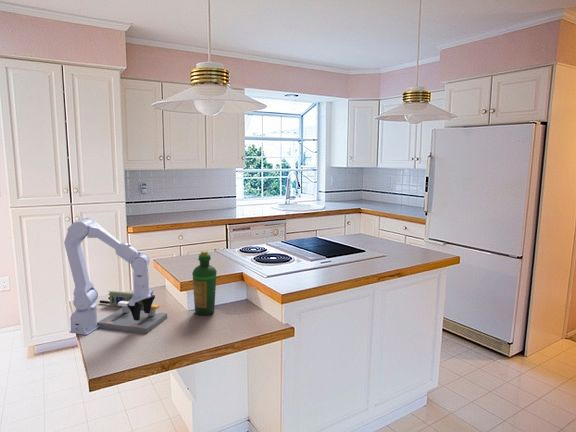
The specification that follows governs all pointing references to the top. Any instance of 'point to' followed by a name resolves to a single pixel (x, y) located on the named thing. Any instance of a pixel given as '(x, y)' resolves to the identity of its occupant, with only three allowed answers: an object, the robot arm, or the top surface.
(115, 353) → the top surface
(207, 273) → the bottle
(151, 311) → the amber switch
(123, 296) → the handheld radio
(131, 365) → the top surface
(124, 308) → the white switch
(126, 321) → the switch panel
